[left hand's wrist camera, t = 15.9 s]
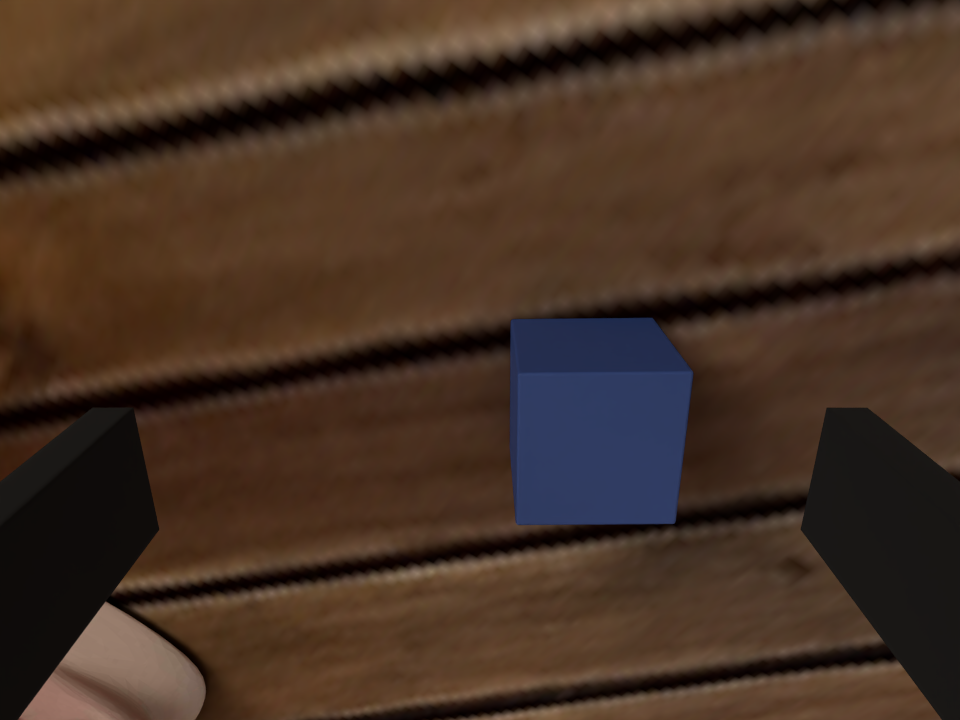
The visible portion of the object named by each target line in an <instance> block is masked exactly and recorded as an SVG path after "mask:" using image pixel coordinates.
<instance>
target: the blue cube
mask: <svg viewBox="0 0 960 720" xmlns="http://www.w3.org/2000/svg"><path fill="white" fill-rule="evenodd" d="M692 381H693V371H692V370H691V368H690V367H689V366H688V364H687V363H686V362H685V360H684V359H683V358H682V356H681V355H680V354H679V352H678V351H677V350H676V348H675V347H674V346H673V344H672V343H671V342H670V340H669V339H668V338H667V336H666V335H665V334H664V332H663V331H662V330H661V328H660V327H659V326H658V324H657V323H656V322H655V320H654V319H653V318H588V319H513V320H511V355H510V455H511V468H512V481H513V493H514V506H515V519H516V523H517V525H583V524H674V523H675V521H676V513H677V505H678V497H679V489H680V480H681V472H682V464H683V456H684V447H685V439H686V431H687V422H688V414H689V406H690V398H691V389H692Z"/></svg>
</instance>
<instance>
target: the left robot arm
mask: <svg viewBox="0 0 960 720" xmlns="http://www.w3.org/2000/svg"><path fill="white" fill-rule="evenodd" d="M158 530H159V526H158V521H157V517H156V512H155V507H154V503H153V498H152V493H151V489H150V484H149V479H148V475H147V470H146V465H145V461H144V456H143V451H142V446H141V442H140V437H139V432H138V428H137V423H136V418H135V414H134V409H133V408H92V409H91V410H89V411H88V412H87V413H86V414H84V415H83V416H82V417H81V418H79V419H78V420H77V421H76V422H74V423H73V424H72V425H71V426H69V427H68V428H67V429H66V430H64V431H63V432H62V433H61V434H59V435H58V436H57V437H56V438H54V439H53V440H52V441H51V442H49V443H48V444H47V445H46V446H44V447H43V448H42V449H41V450H39V451H38V452H37V453H36V454H34V455H33V456H32V457H31V458H29V459H28V460H27V461H26V462H24V463H23V464H22V465H21V466H19V467H18V468H17V469H16V470H14V471H13V472H12V473H11V474H9V475H8V476H7V477H6V478H4V479H3V480H2V481H1V482H0V720H18V719H19V718H20V716H21V715H22V713H23V712H24V711H25V709H26V708H27V707H28V705H29V704H30V703H31V701H32V700H33V699H34V697H35V696H36V695H37V693H38V692H39V691H40V689H41V688H42V687H43V685H44V684H45V683H46V681H47V680H48V679H49V677H50V676H51V674H52V673H53V672H54V670H55V669H56V668H57V666H58V665H59V664H60V662H61V661H62V660H63V658H64V657H65V656H66V654H67V653H68V652H69V650H70V649H71V648H72V646H73V645H74V644H75V642H76V641H77V639H78V638H79V637H80V635H81V634H82V633H83V631H84V630H85V629H86V627H87V626H88V625H89V623H90V622H91V621H92V619H93V618H94V617H95V615H96V614H97V613H98V611H99V610H100V609H101V607H102V606H103V605H104V603H105V602H106V600H107V599H108V598H109V596H110V595H111V594H112V592H113V591H114V590H115V588H116V587H117V586H118V584H119V583H120V582H121V580H122V579H123V578H124V576H125V575H126V574H127V572H128V571H129V570H130V568H131V567H132V565H133V564H134V563H135V561H136V560H137V559H138V557H139V556H140V555H141V553H142V552H143V551H144V549H145V548H146V547H147V545H148V544H149V543H150V541H151V540H152V539H153V537H154V536H155V535H156V533H157V532H158ZM801 530H802V532H803V533H804V535H805V536H806V537H807V539H808V540H809V541H810V543H811V544H812V545H813V547H814V548H815V549H816V551H817V552H818V553H819V555H820V556H821V557H822V559H823V560H824V561H825V563H826V564H827V565H828V567H829V568H830V570H831V571H832V572H833V574H834V575H835V576H836V578H837V579H838V580H839V582H840V583H841V584H842V586H843V587H844V588H845V590H846V591H847V592H848V594H849V595H850V596H851V598H852V599H853V600H854V602H855V603H856V605H857V606H858V607H859V609H860V610H861V611H862V613H863V614H864V615H865V617H866V618H867V619H868V621H869V622H870V623H871V625H872V626H873V627H874V629H875V630H876V631H877V633H878V634H879V635H880V637H881V638H882V639H883V641H884V642H885V644H886V645H887V646H888V648H889V649H890V650H891V652H892V653H893V654H894V656H895V657H896V658H897V660H898V661H899V662H900V664H901V665H902V666H903V668H904V669H905V670H906V672H907V673H908V674H909V676H910V677H911V679H912V680H913V681H914V683H915V684H916V685H917V687H918V688H919V689H920V691H921V692H922V693H923V695H924V696H925V697H926V699H927V700H928V701H929V703H930V704H931V705H932V707H933V708H934V709H935V711H936V712H937V713H938V715H939V716H940V718H941V719H942V720H960V482H959V481H958V480H957V479H956V478H954V477H953V476H952V475H951V474H949V473H948V472H947V471H946V470H944V469H943V468H942V467H941V466H939V465H938V464H937V463H936V462H934V461H933V460H932V459H931V458H929V457H928V456H927V455H926V454H924V453H923V452H922V451H921V450H919V449H918V448H917V447H916V446H914V445H913V444H912V443H911V442H909V441H908V440H907V439H906V438H904V437H903V436H902V435H901V434H899V433H898V432H897V431H896V430H894V429H893V428H892V427H891V426H889V425H888V424H887V423H886V422H884V421H883V420H882V419H881V418H879V417H878V416H877V415H876V414H874V413H873V412H872V411H871V410H869V409H868V408H827V409H826V414H825V418H824V423H823V428H822V432H821V437H820V442H819V446H818V451H817V456H816V461H815V465H814V470H813V475H812V479H811V484H810V489H809V493H808V498H807V503H806V507H805V512H804V517H803V521H802V526H801Z"/></svg>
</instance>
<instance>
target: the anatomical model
mask: <svg viewBox="0 0 960 720" xmlns="http://www.w3.org/2000/svg"><path fill="white" fill-rule="evenodd" d="M205 694H206V686H205V682H204V679H203V676H202V675H201V673H200V671H199V670H198V668H197V667H196V666H195V665H194V664H193V663H192V662H191V660H190V659H189V658H188V657H187V656H185V655H184V654H183V653H182V652H181V651H180V650H178V649H177V648H176V647H174V646H173V645H172V644H171V643H169V642H168V641H167V640H165V639H164V638H163V637H161V636H160V635H159V634H157V633H156V632H154V631H153V630H151V629H150V628H148V627H146V626H145V625H143V624H142V623H140V622H139V621H137V620H136V619H134V618H133V617H131V616H130V615H128V614H126V613H125V612H123V611H121V610H120V609H118V608H116V607H115V606H113V605H111V604H109V603H108V602H105V603H104V605H103V606H102V607H101V609H100V610H99V611H98V613H97V614H96V615H95V617H94V618H93V619H92V621H91V622H90V623H89V625H88V626H87V627H86V629H85V630H84V631H83V633H82V634H81V635H80V637H79V638H78V639H77V641H76V642H75V644H74V645H73V646H72V648H71V649H70V650H69V652H68V653H67V654H66V656H65V657H64V658H63V660H62V661H61V662H60V664H59V665H58V666H57V668H56V669H55V670H54V672H53V673H52V674H51V676H50V677H49V679H48V680H47V681H46V683H45V684H44V685H43V687H42V688H41V689H40V691H39V692H38V693H37V695H36V696H35V697H34V699H33V700H32V701H31V703H30V704H29V705H28V707H27V708H26V709H25V711H24V712H23V713H22V715H21V716H20V718H19V719H18V720H195V719H196V717H197V716H198V714H199V712H200V710H201V708H202V706H203V702H204V699H205Z"/></svg>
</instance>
